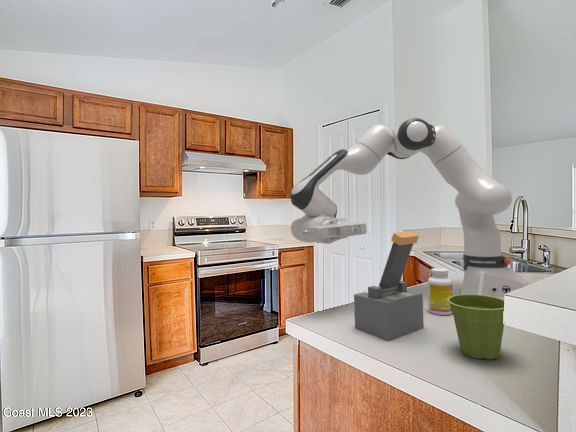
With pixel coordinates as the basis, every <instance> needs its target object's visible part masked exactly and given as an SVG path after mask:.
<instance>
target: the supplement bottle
mask: <svg viewBox="0 0 576 432" xmlns="http://www.w3.org/2000/svg"><path fill="white" fill-rule="evenodd" d="M430 274H431V277H429V278H428V280H427V292H428V293H427V295H428V296H427V297H428V298H427V300H428V311H429V312H430V313H432V314H434V315H438V316H448V315H449V316H450V315H453V313H452V311H451V307H450V303H448V302H447V298H448V297H450V296H453V295H454V294H453V280H452V279H451V278H449V277H448V275H449V270H448V269H447V268H437V267H435V268H434V267H433V268H430Z"/></svg>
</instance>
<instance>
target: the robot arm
mask: <svg viewBox="0 0 576 432" xmlns="http://www.w3.org/2000/svg"><path fill="white" fill-rule="evenodd" d="M417 153H422V154H424V155H426V156H427V157H428V159H429V160H430V161H431V164H433V166H434V167H435V168H436V170H437V171H438V173H439V174H440V176H441V177H442V178H443V180H444V181H445V182H446V183H447V184H449V185H450V186H451V187H452V188H453V189H454V190H456V191H457V192H458V193H457V194H456V195H455V198H454V202H455V203H454V205H455V206H456V208H457V209H458V213H459V218H460V223H461V226H462V231H463V247H464V249H463V251H464V253H463V255H462V268H463V280H462V285H461V289H460V293H459V294H478V295H487V296H493V297H497V298H501V299H504V295H505V294H506V293H508V292H511V291H513V290H516V289H519V288H522V287H524V286H527V285H529V282H528V280H527V279H526V278H524V277H523V276H522V275H520V274H519V273H518V272H516V271H515V270H514V269H512V268H511V267H509V266H511V264H512V262H513V260H512V259H511V258H509V257H506V256H504V255H502V241H501V239H502V238H501V237H502V236H501V235H502V234H501V231H500V229H499V228H498V227H497V225H496V222H495V218H494V216H495V215H498V214H500V213H503V212H505V211H506V210H507V209H508V208H510V206H511V204H512V201H513V195H512V192H511V191H510V189H509V188H508V187H507V186H505V185H503V184H502V183H500V182H498V181H497V180H496V179H495V178H493V176H491V175H490V174H489V173H488V172H487V171H485V169H483V168H482V167H481V166H480V165H479V164H478V163H477V162H476V161H475V159H474V158H473V157H472V156H471V154H470V153H469V152H468V150H467V149H466V148H465V146H464V145H463V143H461V141H460V140H459V139H458V138H457V136H456V135H455V134H454V133H453V132H451V130H450V129H448V128H447V127H446V126H444V125H435V126H434V125H432V124H430V123H428V121H426V120H424V119H422V118H419V117H413V118H409V119H406V120H405V121H403V122H402V123H401V124H400V125H399V126H398V127H397V128H396V129H391V128H389V127H387V126H386V125H383V124H379V123H378V124H374V125H373V126H371V127H370V128H368V130H366V132H364V133H363V135H361V136H360V137H359V138H358V139H357V141H356V142H355V143H354V144H353V145H352V146H350V148H348V149H343V148H341V149H339V150H338V151H335V152H334V153H333V154H331V155H330V156H329V157H328V158H327V159H325V160H324V161H323V162H322V163H320V164H319V166H317V167H316V168H315V169H314V170H313V171H312V172H311V173H310V174H309V175H307V176H306V177H304V178H302V179H301V180H300V181H299V182H297V183H296V184H295V185H294V186H293V187H292V188H291V190H290V202H291V204H292V206H294V207H295V208H297V209H299V210H300V211H301V212H303V213H304V215H303V216H302V217H300V218H297V219H295V220H293V221H292V222H291V224H290V232H291V235H292V236H293V238H294V239H296V240H297V241H300V242H304V243H310V244H311V243H315V244H326V245H329V244H330V245H331V244H332V243H334V242H337V241H339V240H343V239H347V238H349V237H353V236H360V235H366V234H367V223H366V222H363V221H356V220H348V219H347V218H337V214H338V206H337V204H336V203H335V202H334V201H333V200H332V199H331V198H329V197H328V195H326V194H325V193H324V192H323V191H321V190H320V189H319V186H320V185H321V184H322V183H323V182H324V181H326V180H327V179H328V178H329V177H330V176H331V175H332V174H333V173H335V172H336V171H339V170H344V171H346V172H348V173H351V174H354V175H359V176H361V175H362V176H363V175H368V174H370V173H371V172H372V171H373V170H375V168H377V166H378V165H379V164H380V163H381V161H382V160H383V159H384V158H385V156H386V155H387V156H388V155H389V156H390V157H392V158H394V159H397V160H406V159H409V158H411V157H412V156H414V155H417Z"/></svg>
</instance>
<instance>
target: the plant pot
mask: <svg viewBox="0 0 576 432" xmlns="http://www.w3.org/2000/svg"><path fill="white" fill-rule="evenodd" d="M447 302H448V303H450V307H451V311H452V316H453V319H454V325H455V328H456V334H457V339H458V344H459V349H460V350H461V352H462V353H463V354H464V355H466V356H468V357H471V358H472V359H473V358H474V359H479V360H480V359H486V360H496V359H499V357H500V355H501V350H502V341H503V335H504V328H505V323H504V324H503V311H504V299H501V298H497V297H493V296H487V295H478V294H461V293H459V294H453V296H450V297H448V298H447Z"/></svg>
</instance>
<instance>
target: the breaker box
mask: <svg viewBox="0 0 576 432" xmlns="http://www.w3.org/2000/svg"><path fill="white" fill-rule="evenodd" d="M407 284H408V282H407V281H401V280H400V283H399V286H398V290H396V291H392V292H388V293H384V294H382V288H380V287H379V286H377V285H375V286H374V285H372V286H367V291H363V292H358V293H355V294H353V304H354V305H353V306H354V308H353V309H354V328H355V329H357V330H359V331H362V332H365V333H366V334H369V335H372V336H375V337H377V338H380V339H383V340H385V341H389V342H390V341H392V340H395V339H397V338H400V337H402V336H405V335H407V334H411V333H414V332H416V331H419V330H422V329H424V328H425V326H424V325H425V324H424V322H425V321H424V294H423V293H422V292H417V291H412V290H408V285H407Z"/></svg>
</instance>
